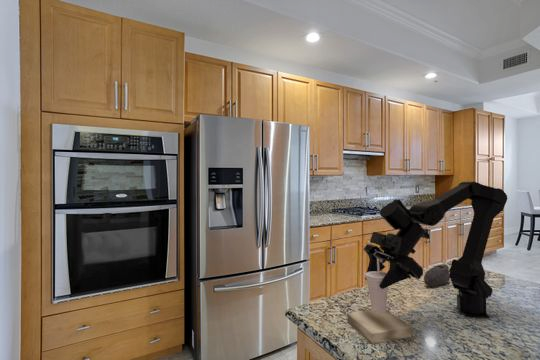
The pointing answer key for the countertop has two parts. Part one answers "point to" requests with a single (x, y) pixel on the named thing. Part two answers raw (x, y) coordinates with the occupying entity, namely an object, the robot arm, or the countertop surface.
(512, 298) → the countertop surface
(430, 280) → the perforated stone tool
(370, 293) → the smoothie
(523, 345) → the countertop surface
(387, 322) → the plinth
